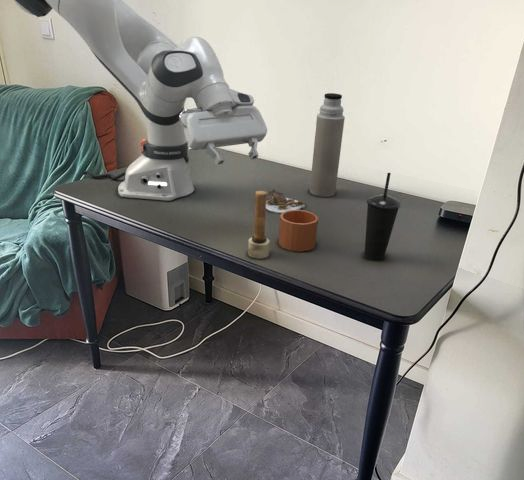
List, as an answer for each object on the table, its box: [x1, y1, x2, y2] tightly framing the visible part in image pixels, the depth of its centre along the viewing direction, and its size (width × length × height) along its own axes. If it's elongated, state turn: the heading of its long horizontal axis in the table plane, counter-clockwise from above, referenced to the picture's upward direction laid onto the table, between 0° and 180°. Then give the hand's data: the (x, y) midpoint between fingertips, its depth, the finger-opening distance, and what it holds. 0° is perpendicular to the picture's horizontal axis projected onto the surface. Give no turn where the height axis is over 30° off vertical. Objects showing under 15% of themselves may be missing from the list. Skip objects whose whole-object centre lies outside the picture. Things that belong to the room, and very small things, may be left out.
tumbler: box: [278, 209, 319, 252], centre depth 127 cm, size 9×9×7 cm
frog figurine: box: [266, 188, 306, 214], centre depth 149 cm, size 12×12×4 cm
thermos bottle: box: [309, 92, 346, 198], centre depth 153 cm, size 8×8×28 cm
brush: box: [247, 190, 271, 260], centre depth 119 cm, size 5×5×15 cm
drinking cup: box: [363, 172, 402, 261], centre depth 120 cm, size 8×8×20 cm
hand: (238, 160), depth 121 cm, fingers open, 8 cm apart
